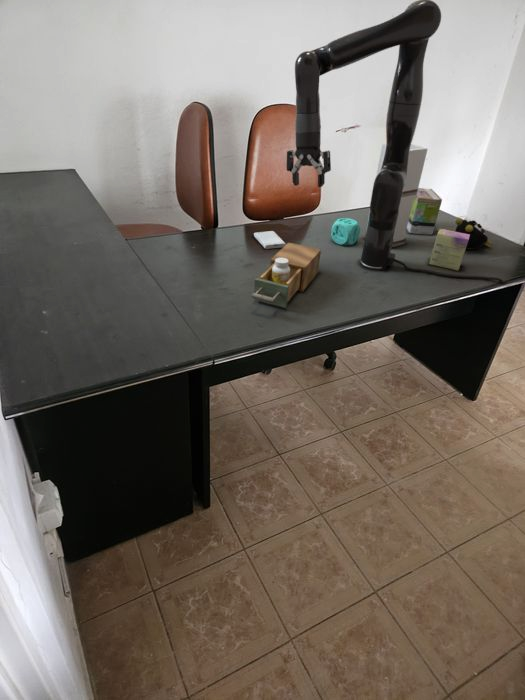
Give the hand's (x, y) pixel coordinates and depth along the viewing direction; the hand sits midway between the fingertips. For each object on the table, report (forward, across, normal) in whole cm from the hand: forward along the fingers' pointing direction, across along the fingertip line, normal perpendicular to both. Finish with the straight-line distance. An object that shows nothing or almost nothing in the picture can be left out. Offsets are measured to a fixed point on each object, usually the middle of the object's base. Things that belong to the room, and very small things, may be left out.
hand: (308, 186), depth 150 cm
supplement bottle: (+26, +2, -24) cm, 36 cm away
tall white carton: (+27, +13, +39) cm, 50 cm away
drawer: (+27, +3, -27) cm, 39 cm away
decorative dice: (+26, 0, +28) cm, 39 cm away
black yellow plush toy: (+31, +42, +55) cm, 76 cm away
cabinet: (+27, 0, -11) cm, 29 cm away
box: (+31, +38, +32) cm, 59 cm away
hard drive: (+23, -22, +10) cm, 33 cm away
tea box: (+28, +19, +62) cm, 71 cm away
